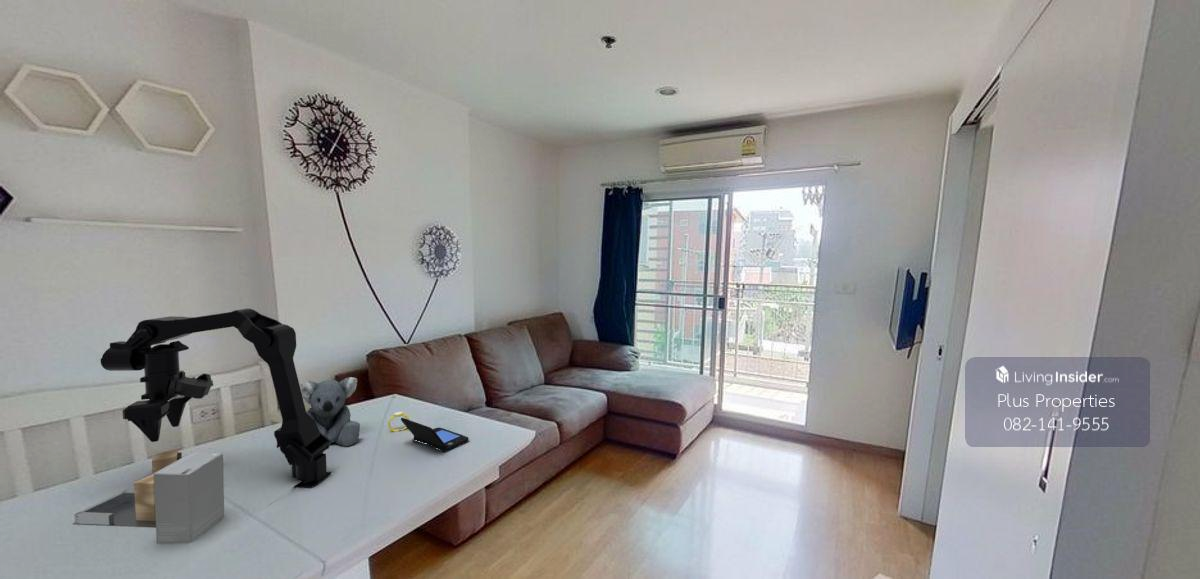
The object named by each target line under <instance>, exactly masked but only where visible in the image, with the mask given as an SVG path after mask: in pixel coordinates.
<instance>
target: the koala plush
mask: <svg viewBox="0 0 1200 579" xmlns="http://www.w3.org/2000/svg"><path fill="white" fill-rule="evenodd" d="M357 383H358V378H356V377H351V376H350V377H345V378H344V379H342V380H340V381H337V380H336V379H325V380H321V381H320V382H315V381H311V380H307V379H304V380H302V382H300V383H299V385H300V389H301V393H302V397H303V400H304V402H306V403H307V404H309V405H310V408H308V409H307V410H306V412H307V414H308V415H309V416H310V417H311V418H312V419H314V420H315V422H316V424H317V427H318V429H319V431H320V433H322V434H323V435H324V436H325V437H326V438H327V439H329V440H330V441H331V443H336V444H337V445H339V446H340V445H341V446H343V447H344V446H346V447H349V446H353V445H354V444H356V442H357V441H358V440H359V437H360V430H361V428H360V427H361V423H360V422H358V421H354V420H351V411H350V408H349V407H348V406H347V405H346V404H345V402H346V399H348V398H350V397H351V396H352V394H354V393H355V392H356V389H357V386H358V384H357ZM331 443H330V444H331Z"/></svg>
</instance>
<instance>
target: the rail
mask: <svg viewBox="0 0 1200 579" xmlns="http://www.w3.org/2000/svg"><path fill="white" fill-rule="evenodd" d="M73 517H74V523H72V525H78V526H79V525H83V526H104V527H105V526H106V527H107V526H109V527H128V528H130V527H131V528H134V527H135V528H152V529H156V521H142V520H136V510H135V495H134V490H124V491H121V492H119V493H117V494H115V495H112V496H110V497H108V498H106V499H104V500H101V501H99V502H97V503H96V504H93V505H91V506H89V507H87V508H84V509H83V510H80V511H78V512H76V513H74V516H73Z"/></svg>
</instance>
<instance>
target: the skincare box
mask: <svg viewBox="0 0 1200 579" xmlns="http://www.w3.org/2000/svg"><path fill="white" fill-rule="evenodd" d="M152 474H154V494H155V516H156V528H155V532H156V533H155V534H156V535H155V536H156V544H157V545H165V544H166V545H169V544H170V545H171V544H188V543H193V542H194V541H195V540H196V539H198V538H199V537H201V536H202V535H204V534H205V533H206V532H208V531H209V530H210V529H211V528H213V527H214V526H215V525H217V524H218V523H219V522H220V521H221V520H223V519H224V518H225V486H224V485H225V484H224V482H225V481H224V479H225V478H224V453H223V452H201V451H200V452H198V451H197V452H190V453H188V454H187V455H185V456H182V458H181V459H179V460H177V461H176V462H174V463H172V464H170V465H168V466H166V467H165V468H163V469H161V470H159V471H157V472H155V473H152Z"/></svg>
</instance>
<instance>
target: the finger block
mask: <svg viewBox="0 0 1200 579" xmlns="http://www.w3.org/2000/svg"><path fill="white" fill-rule="evenodd" d="M181 458H183V456H182V451H180V452H179V449H178V448H177V449H176V448H175V449H170V450H166V451H162V452H157V453H154V454H153V458H152V460H151V470H152V474H153V473H155V472H157V471H159V470H161V469H163V468H165V467H166V466H168V465H170V464H172V463H174V462H176V461H177V460H179V459H181Z"/></svg>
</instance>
